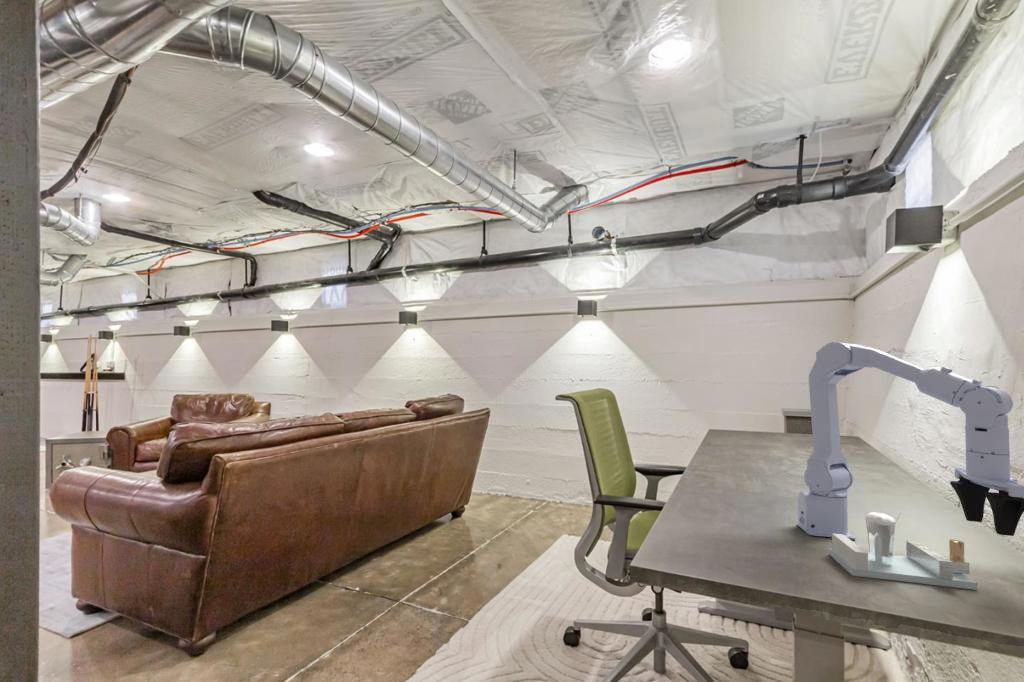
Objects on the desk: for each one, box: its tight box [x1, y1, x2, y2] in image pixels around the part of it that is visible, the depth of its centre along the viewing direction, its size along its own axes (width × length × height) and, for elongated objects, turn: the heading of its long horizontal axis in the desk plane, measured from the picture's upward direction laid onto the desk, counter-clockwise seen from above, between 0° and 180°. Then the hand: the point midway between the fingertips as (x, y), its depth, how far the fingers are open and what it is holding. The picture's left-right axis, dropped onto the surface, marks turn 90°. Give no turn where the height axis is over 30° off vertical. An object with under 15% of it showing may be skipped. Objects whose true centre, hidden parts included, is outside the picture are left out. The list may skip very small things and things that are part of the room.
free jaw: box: [905, 539, 970, 579], centre depth 88 cm, size 6×10×5 cm, turn 167°
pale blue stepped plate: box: [828, 533, 978, 591], centre depth 89 cm, size 19×10×4 cm, turn 77°
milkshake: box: [865, 511, 902, 566], centre depth 90 cm, size 5×5×10 cm
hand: (988, 527), depth 86 cm, fingers open, 7 cm apart
